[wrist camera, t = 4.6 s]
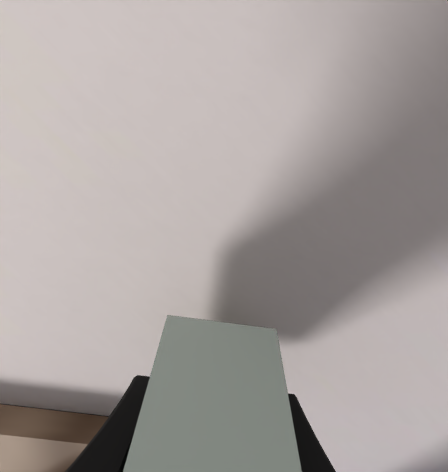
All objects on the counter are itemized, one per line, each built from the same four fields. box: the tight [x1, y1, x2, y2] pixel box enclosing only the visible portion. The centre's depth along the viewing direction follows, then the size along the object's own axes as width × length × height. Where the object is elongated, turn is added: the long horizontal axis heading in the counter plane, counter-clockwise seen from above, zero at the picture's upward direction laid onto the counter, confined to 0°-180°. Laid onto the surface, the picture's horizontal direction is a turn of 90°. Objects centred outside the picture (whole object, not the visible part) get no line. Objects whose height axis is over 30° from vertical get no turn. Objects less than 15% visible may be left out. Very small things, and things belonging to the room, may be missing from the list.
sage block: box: [123, 315, 302, 472], centre depth 10 cm, size 4×4×7 cm
